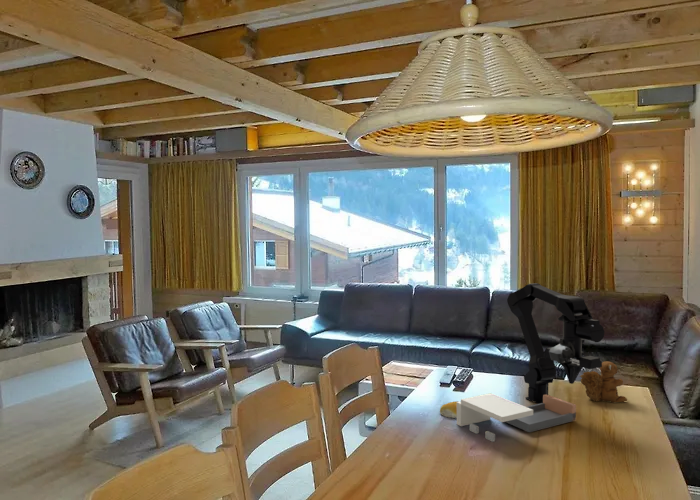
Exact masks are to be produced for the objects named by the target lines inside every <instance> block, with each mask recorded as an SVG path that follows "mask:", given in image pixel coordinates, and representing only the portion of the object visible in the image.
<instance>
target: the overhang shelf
mask: <svg viewBox="0 0 700 500" xmlns="http://www.w3.org/2000/svg"><path fill="white" fill-rule="evenodd" d="M531 415H533V409H530V408H527V406H525V405H522V404H519V403H517V402H514V401H512V400H509V399H506V398H504V397H502V396H499V395H497V394H493V393H492V392H491V393H486V394H481V395H475V396H471V397H466V398H461V399H460V401H458V402H457V418H456V425H458V426H460V427H463V426H468V425H469V431H470V432H472V433H474V434H476V435H477V434H479V433H480V427H479V425H477V424H478V423H481V422H486V421H490V420H491V419H494V420H496V421H499V422H500V423H507V422H506V421H510V420H514V419H518V418H522V417H526V416H531ZM476 423H477V424H476ZM485 439H486V440H488V441H491V442H493V443H494V442H495V441H496V434H495V433H494V432H491V431H490V430H487V431H485Z"/></svg>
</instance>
